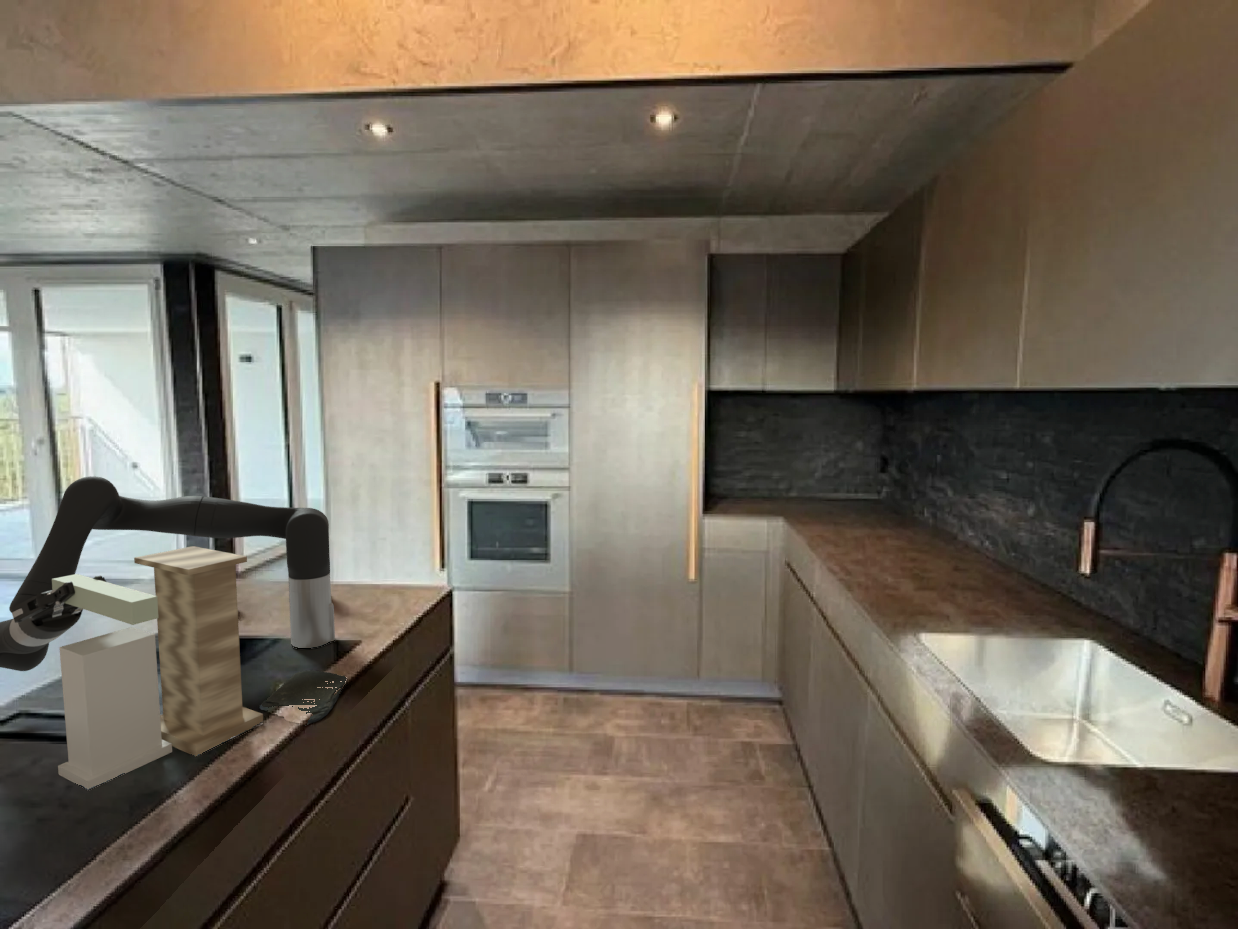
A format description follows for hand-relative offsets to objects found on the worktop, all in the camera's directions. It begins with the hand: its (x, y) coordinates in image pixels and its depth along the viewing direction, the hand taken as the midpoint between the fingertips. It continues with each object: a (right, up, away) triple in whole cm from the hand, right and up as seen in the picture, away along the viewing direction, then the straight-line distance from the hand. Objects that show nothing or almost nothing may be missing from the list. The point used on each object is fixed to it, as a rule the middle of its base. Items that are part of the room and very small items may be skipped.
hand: (86, 584), depth 103 cm
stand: (+11, -29, +12) cm, 33 cm away
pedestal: (+5, -30, +1) cm, 30 cm away
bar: (+4, -4, -2) cm, 6 cm away
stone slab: (+24, -28, +24) cm, 44 cm away
